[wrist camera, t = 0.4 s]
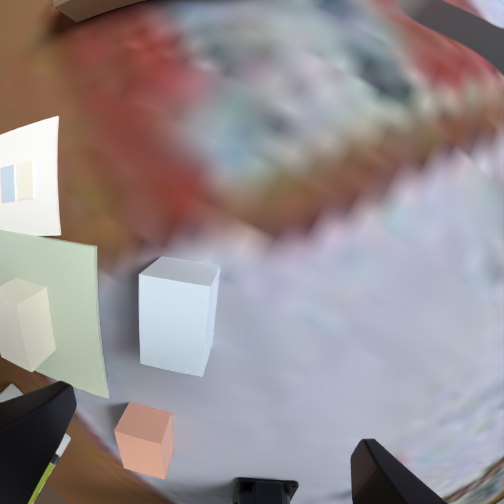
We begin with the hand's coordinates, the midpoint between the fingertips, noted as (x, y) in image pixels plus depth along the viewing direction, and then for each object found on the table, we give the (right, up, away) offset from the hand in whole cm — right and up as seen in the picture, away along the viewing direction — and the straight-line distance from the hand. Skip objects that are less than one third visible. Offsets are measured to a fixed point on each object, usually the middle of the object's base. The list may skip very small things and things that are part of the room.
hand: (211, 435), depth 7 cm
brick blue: (-3, +2, +13) cm, 13 cm away
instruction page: (-19, +11, +11) cm, 25 cm away
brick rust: (-8, -11, +16) cm, 21 cm away
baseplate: (-18, 0, +14) cm, 22 cm away
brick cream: (-18, 0, +13) cm, 22 cm away
